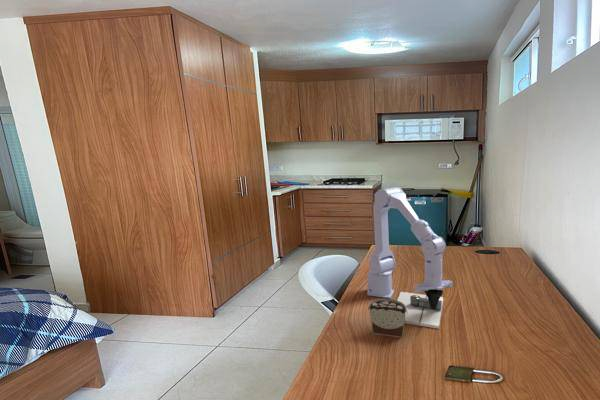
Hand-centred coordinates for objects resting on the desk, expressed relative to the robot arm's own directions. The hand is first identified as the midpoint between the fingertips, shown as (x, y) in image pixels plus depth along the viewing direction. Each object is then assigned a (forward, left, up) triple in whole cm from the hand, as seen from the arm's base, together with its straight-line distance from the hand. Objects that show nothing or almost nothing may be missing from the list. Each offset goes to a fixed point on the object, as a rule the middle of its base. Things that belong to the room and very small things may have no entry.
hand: (433, 308), depth 128 cm
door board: (-5, +2, -2) cm, 6 cm away
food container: (-12, -17, -2) cm, 21 cm away
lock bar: (-3, +3, -1) cm, 4 cm away
